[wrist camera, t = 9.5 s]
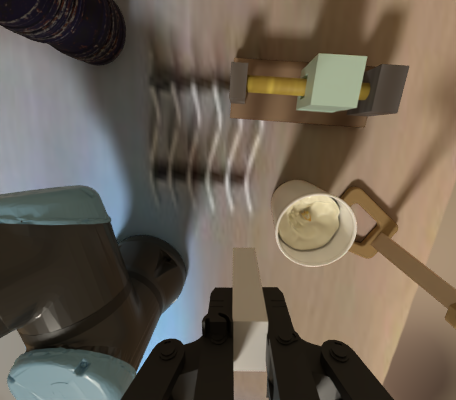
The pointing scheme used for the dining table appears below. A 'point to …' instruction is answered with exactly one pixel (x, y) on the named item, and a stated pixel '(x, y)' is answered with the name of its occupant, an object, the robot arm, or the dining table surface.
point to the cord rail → (285, 101)
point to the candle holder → (311, 224)
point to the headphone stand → (398, 252)
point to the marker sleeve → (332, 83)
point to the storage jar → (69, 26)
